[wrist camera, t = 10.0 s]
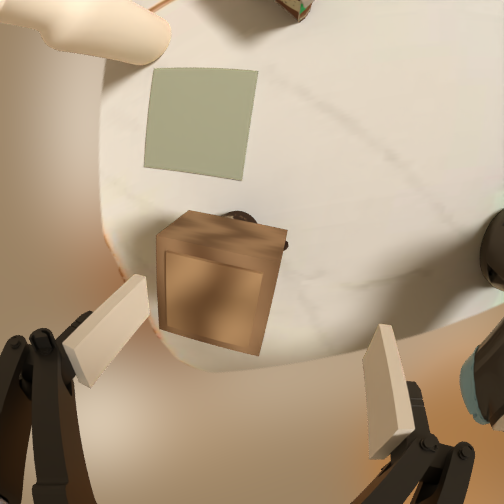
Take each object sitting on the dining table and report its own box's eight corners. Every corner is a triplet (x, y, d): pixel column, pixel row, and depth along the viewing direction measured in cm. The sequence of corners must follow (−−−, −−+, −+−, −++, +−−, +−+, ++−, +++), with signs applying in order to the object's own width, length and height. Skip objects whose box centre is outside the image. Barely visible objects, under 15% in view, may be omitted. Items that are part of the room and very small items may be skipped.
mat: (258, 71, 33) (258, 71, 33) (241, 180, 40) (241, 180, 40) (154, 68, 35) (154, 68, 35) (144, 166, 42) (144, 166, 42)
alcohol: (128, 73, 36) (-41, 66, 9) (125, 29, 32) (-28, -3, 5) (176, 56, 34) (3, 9, 7) (172, 10, 30) (23, -59, 3)
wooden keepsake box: (287, 230, 31) (279, 265, 24) (269, 312, 36) (258, 358, 29) (189, 210, 33) (154, 236, 25) (185, 292, 38) (157, 330, 30)
